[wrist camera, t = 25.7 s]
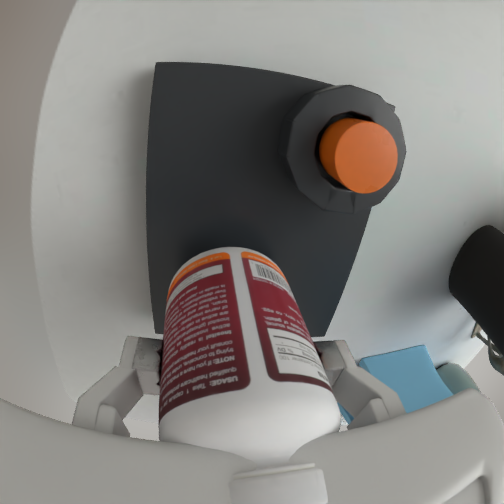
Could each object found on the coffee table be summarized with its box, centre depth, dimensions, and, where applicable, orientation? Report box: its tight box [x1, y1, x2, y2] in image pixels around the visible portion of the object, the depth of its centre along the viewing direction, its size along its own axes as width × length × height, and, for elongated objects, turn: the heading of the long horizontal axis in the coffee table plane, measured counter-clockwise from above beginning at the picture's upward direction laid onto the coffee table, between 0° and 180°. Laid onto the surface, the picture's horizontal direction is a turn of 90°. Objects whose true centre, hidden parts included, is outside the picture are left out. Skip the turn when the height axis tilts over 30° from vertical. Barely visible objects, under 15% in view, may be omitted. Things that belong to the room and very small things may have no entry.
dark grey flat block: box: [146, 62, 406, 337], centre depth 14 cm, size 16×12×4 cm
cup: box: [436, 363, 481, 394], centre depth 27 cm, size 8×8×10 cm
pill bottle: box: [159, 247, 341, 504], centre depth 10 cm, size 6×6×11 cm
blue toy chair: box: [337, 345, 454, 424], centre depth 17 cm, size 10×10×25 cm
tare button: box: [319, 118, 398, 194], centre depth 10 cm, size 3×3×2 cm
